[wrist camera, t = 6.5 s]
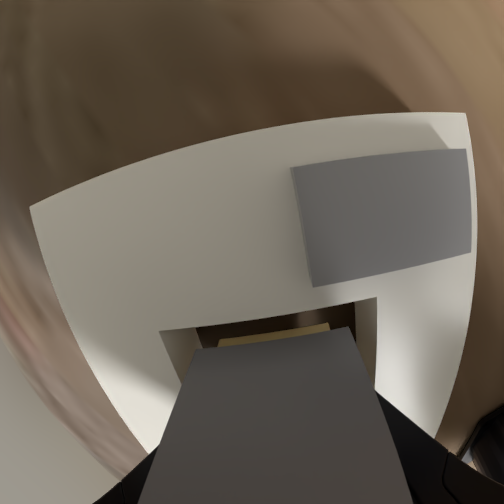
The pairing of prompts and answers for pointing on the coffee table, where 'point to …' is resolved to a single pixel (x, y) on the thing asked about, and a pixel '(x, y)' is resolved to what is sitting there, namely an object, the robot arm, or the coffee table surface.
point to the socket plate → (273, 253)
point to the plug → (277, 426)
